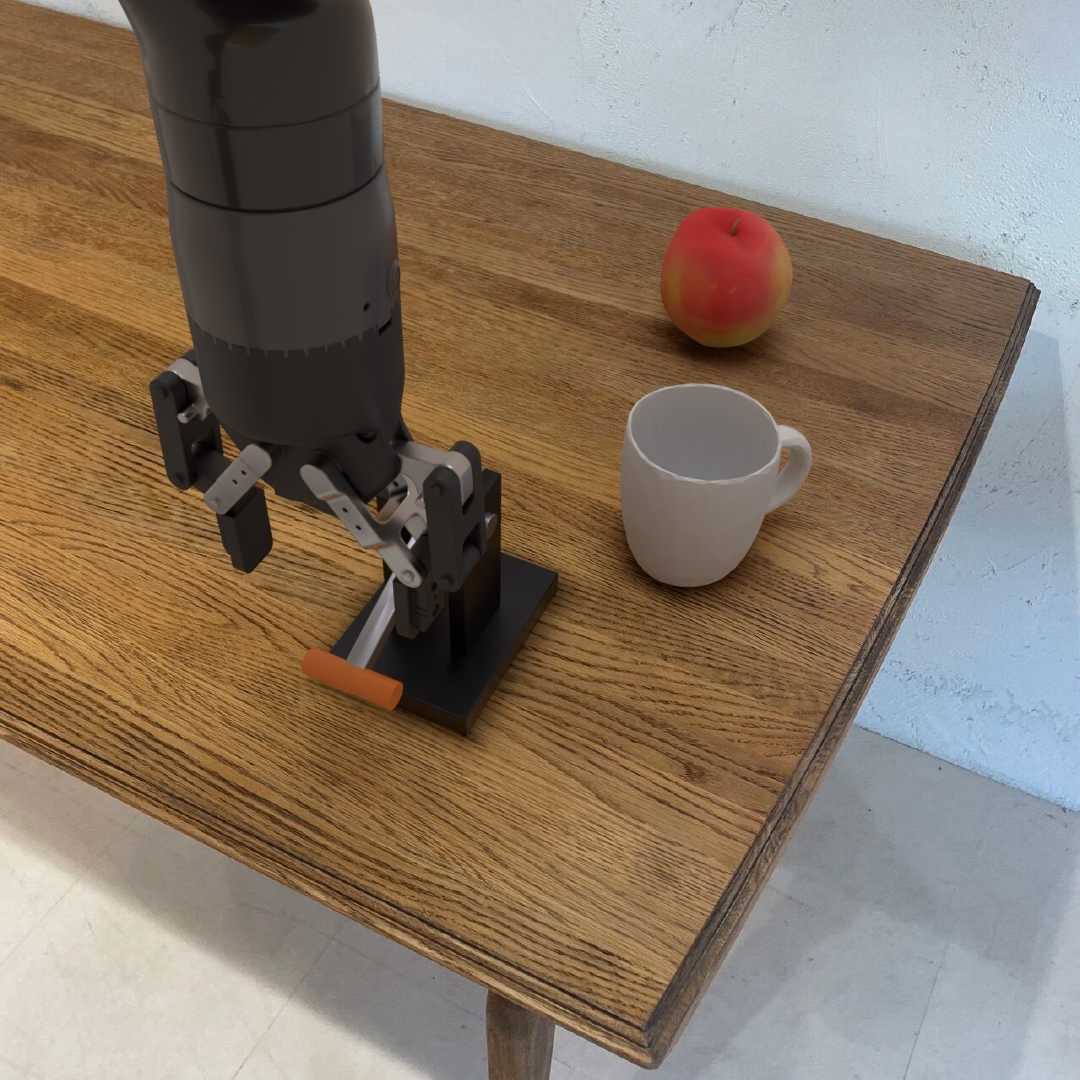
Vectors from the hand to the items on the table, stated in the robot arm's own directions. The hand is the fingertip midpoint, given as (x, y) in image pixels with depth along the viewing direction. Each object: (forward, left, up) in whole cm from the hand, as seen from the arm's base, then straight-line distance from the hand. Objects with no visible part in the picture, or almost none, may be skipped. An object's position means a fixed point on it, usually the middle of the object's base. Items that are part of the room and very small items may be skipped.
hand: (333, 591), depth 51 cm
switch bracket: (+9, +3, -13) cm, 16 cm away
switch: (+5, +2, -6) cm, 8 cm away
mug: (+26, -3, -13) cm, 29 cm away
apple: (+44, +11, -13) cm, 47 cm away
